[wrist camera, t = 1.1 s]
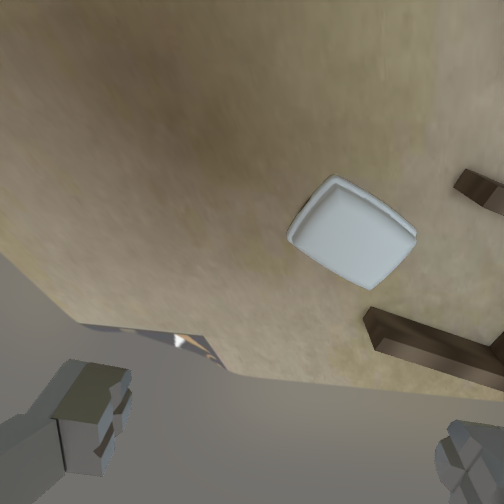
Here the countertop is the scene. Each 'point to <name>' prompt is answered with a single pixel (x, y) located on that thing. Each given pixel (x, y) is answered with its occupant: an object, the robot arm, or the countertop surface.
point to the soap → (352, 233)
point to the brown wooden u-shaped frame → (436, 341)
